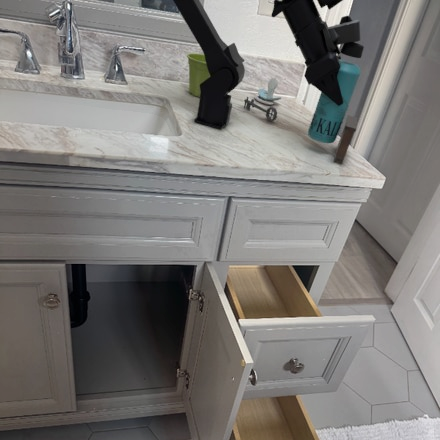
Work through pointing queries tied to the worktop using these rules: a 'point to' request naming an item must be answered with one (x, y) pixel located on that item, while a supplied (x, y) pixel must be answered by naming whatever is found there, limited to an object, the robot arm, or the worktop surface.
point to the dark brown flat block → (345, 139)
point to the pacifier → (268, 93)
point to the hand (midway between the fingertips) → (341, 100)
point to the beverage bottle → (328, 110)
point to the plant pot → (197, 72)
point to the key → (251, 103)
